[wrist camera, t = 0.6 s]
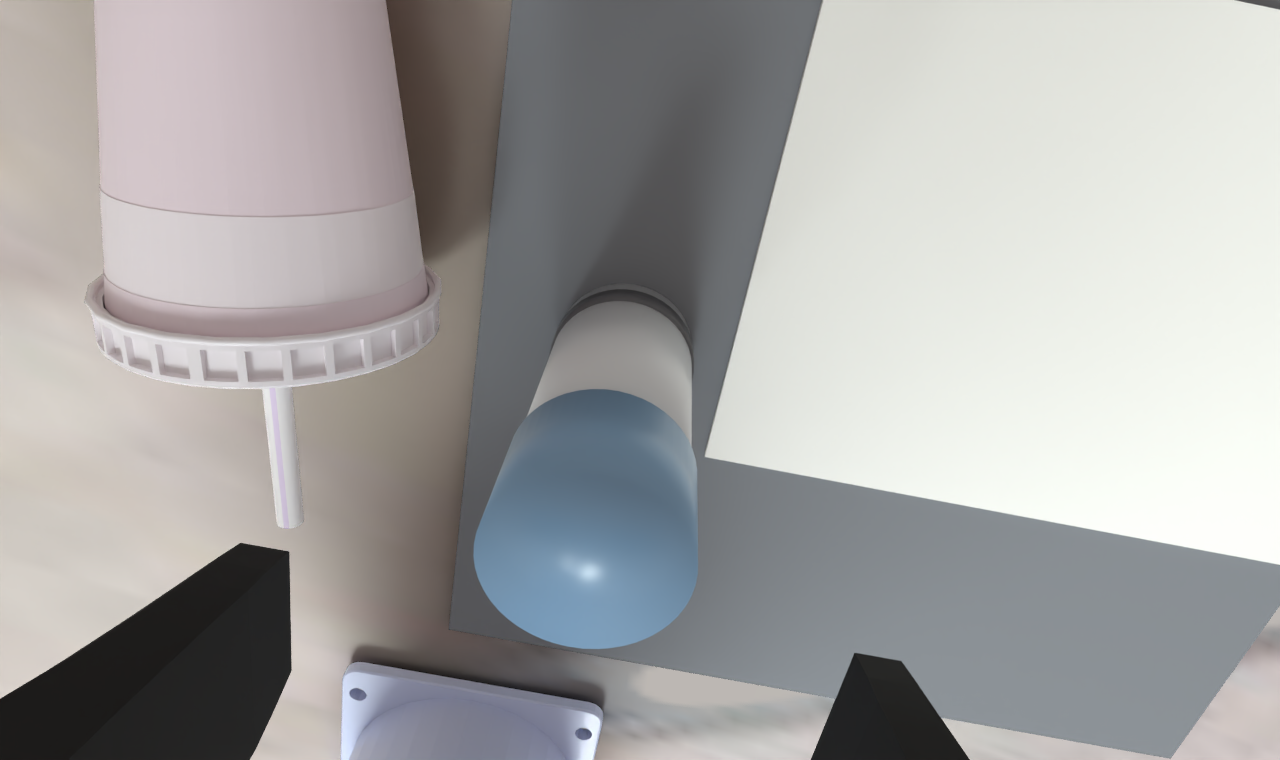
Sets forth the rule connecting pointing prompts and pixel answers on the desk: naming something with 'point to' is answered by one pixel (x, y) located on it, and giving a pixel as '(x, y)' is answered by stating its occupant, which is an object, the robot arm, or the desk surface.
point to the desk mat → (780, 501)
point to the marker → (600, 480)
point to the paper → (1028, 267)
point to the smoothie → (256, 202)
